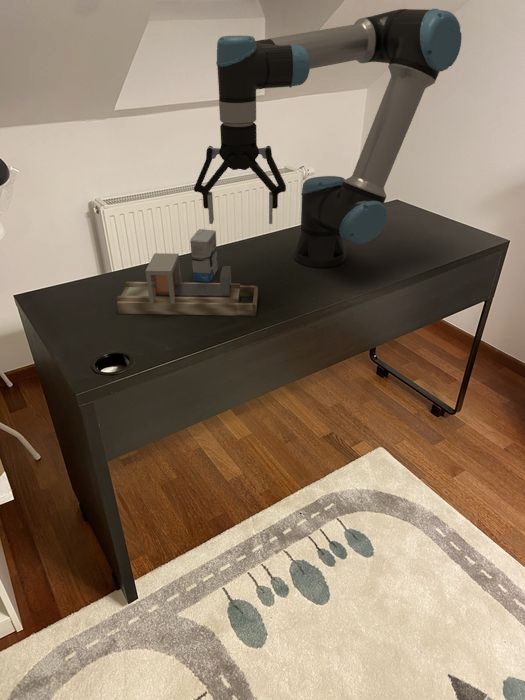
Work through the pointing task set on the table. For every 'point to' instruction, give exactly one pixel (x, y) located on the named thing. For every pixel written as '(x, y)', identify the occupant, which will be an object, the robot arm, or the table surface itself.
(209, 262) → the ink box
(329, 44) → the robot arm
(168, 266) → the tunnel
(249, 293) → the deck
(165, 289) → the sled
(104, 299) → the table surface
